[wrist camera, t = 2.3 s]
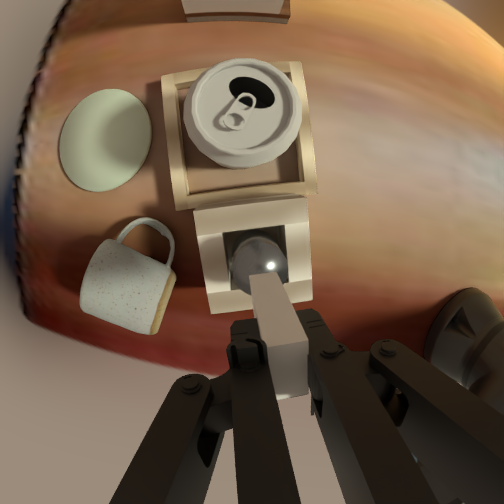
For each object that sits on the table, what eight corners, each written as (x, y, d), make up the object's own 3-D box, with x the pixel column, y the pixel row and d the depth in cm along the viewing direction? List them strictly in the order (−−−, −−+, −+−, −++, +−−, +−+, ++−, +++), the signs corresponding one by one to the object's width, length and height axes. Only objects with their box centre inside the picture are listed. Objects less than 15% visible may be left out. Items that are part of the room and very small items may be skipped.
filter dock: (316, 272, 30) (335, 295, 24) (194, 289, 30) (187, 316, 24) (296, 68, 24) (312, 45, 18) (165, 82, 23) (150, 61, 18)
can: (289, 118, 25) (329, 84, 14) (254, 182, 27) (273, 190, 16) (222, 85, 24) (218, 30, 13) (186, 149, 26) (155, 133, 14)
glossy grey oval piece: (279, 269, 25) (290, 292, 21) (235, 275, 25) (236, 300, 21) (275, 226, 24) (286, 240, 20) (229, 232, 24) (229, 247, 19)
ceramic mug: (164, 317, 30) (150, 356, 23) (101, 291, 29) (72, 322, 22) (195, 232, 28) (184, 252, 21) (124, 204, 27) (92, 214, 19)
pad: (157, 179, 26) (155, 180, 25) (69, 200, 26) (65, 201, 25) (148, 79, 23) (146, 77, 22) (61, 108, 23) (57, 107, 22)
